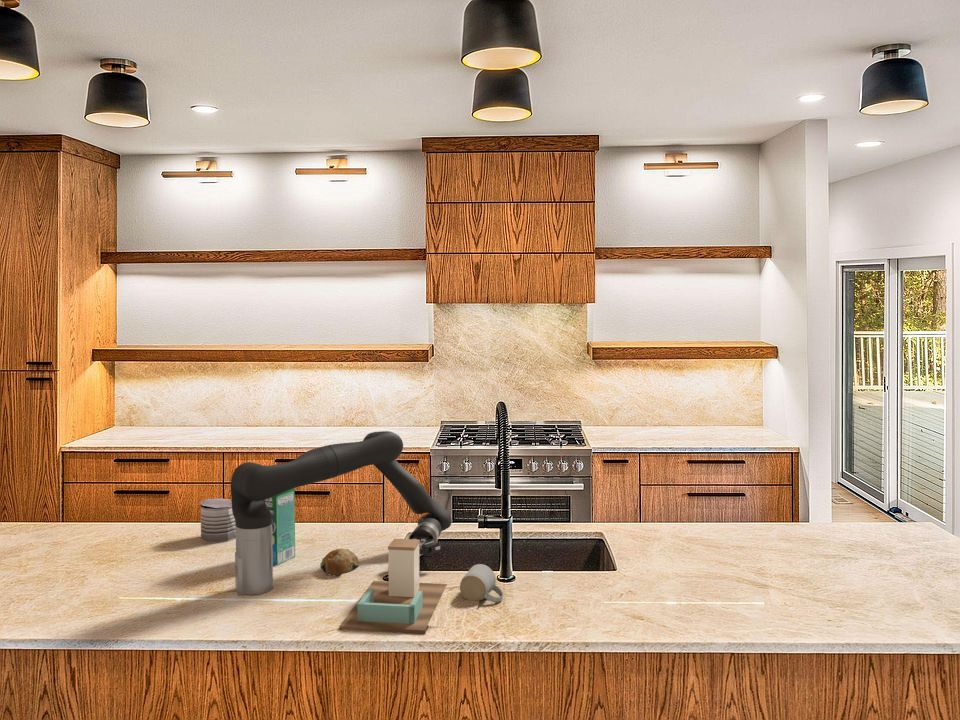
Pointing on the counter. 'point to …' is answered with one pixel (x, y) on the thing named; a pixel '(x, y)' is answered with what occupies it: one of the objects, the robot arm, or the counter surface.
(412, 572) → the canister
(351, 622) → the board
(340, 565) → the bread roll
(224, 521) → the can
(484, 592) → the ceramic mug
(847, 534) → the counter surface
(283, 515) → the milk carton
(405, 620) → the dock
